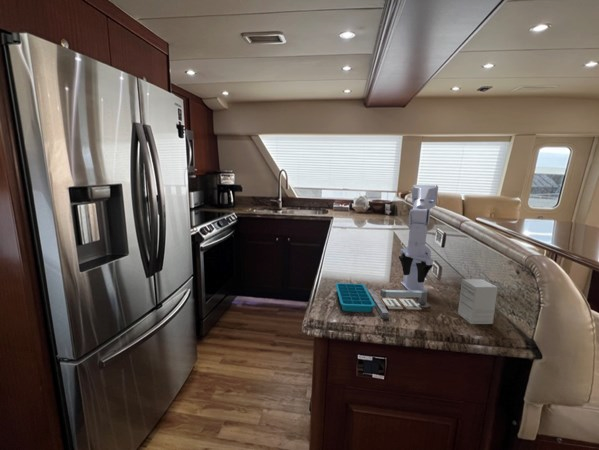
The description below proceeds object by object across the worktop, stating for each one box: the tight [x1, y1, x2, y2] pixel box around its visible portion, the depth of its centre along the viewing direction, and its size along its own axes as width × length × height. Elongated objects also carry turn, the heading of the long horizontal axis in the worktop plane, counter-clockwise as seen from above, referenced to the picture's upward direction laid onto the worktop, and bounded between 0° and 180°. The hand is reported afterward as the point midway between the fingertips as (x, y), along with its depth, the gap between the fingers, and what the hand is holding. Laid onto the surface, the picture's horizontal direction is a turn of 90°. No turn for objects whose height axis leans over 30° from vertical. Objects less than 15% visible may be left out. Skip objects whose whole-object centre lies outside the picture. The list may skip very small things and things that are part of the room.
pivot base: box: [415, 300, 430, 309], centre depth 102 cm, size 5×5×1 cm
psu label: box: [381, 297, 404, 310], centre depth 102 cm, size 8×5×1 cm, turn 1°
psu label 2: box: [398, 298, 422, 311], centre depth 102 cm, size 8×5×1 cm, turn 1°
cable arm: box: [379, 288, 428, 305], centre depth 102 cm, size 16×3×5 cm, turn 91°
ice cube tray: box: [335, 282, 375, 313], centre depth 104 cm, size 12×20×3 cm, turn 179°
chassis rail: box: [366, 288, 390, 319], centre depth 101 cm, size 20×2×2 cm, turn 1°
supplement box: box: [457, 278, 499, 325], centre depth 91 cm, size 7×7×13 cm
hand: (413, 278), depth 102 cm, fingers open, 7 cm apart
